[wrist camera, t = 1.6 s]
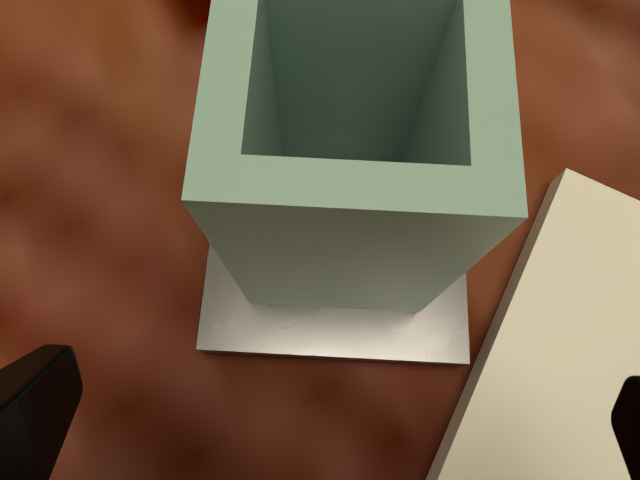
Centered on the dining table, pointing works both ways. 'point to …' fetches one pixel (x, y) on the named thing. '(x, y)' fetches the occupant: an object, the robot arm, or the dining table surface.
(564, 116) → the dining table surface
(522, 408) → the board
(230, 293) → the stand
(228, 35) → the sleeve
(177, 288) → the dining table surface
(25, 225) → the dining table surface
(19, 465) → the robot arm
